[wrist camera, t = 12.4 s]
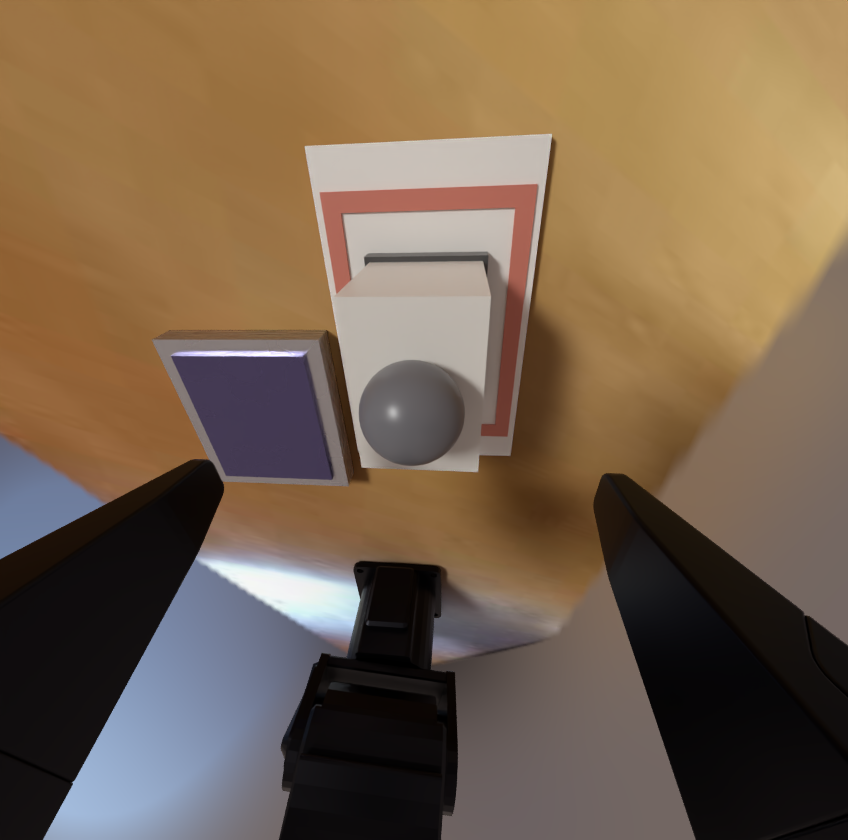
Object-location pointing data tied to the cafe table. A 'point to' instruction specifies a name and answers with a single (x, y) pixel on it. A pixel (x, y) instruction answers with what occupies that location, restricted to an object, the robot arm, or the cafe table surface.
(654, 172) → the cafe table surface
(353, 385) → the stamp
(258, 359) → the ink pad
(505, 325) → the sheet
